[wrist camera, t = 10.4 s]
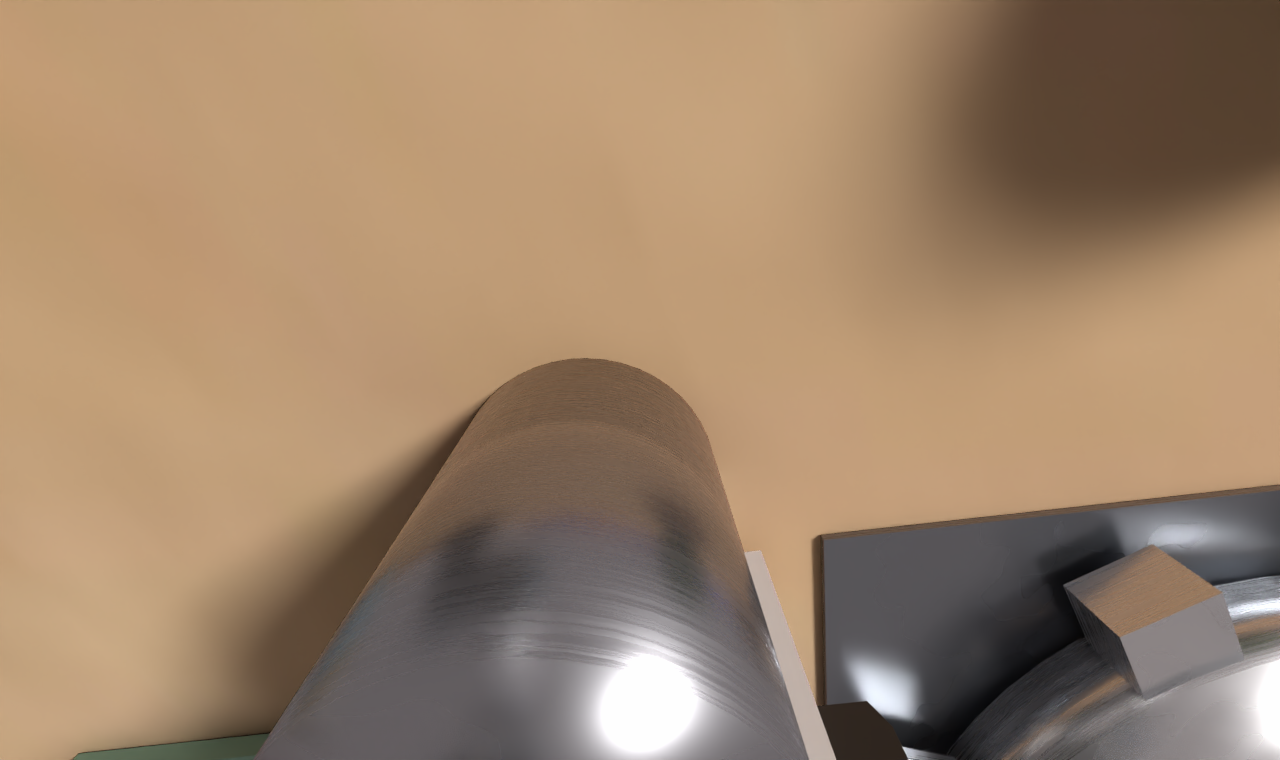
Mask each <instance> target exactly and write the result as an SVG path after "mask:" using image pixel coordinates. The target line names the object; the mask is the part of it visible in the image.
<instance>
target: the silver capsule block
mask: <svg viewBox="0 0 1280 760" xmlns="http://www.w3.org/2000/svg"><path fill="white" fill-rule="evenodd" d="M253 760H809V758H808V754H807V751H806V748H805V745H804V742H803V738H802V735H801V732H800V729H799V726H798V722H797V719H796V716H795V713H794V710H793V707H792V703H791V700H790V697H789V694H788V691H787V687H786V684H785V681H784V678H783V675H782V672H781V668H780V665H779V662H778V659H777V656H776V652H775V649H774V646H773V643H772V640H771V636H770V633H769V630H768V627H767V624H766V621H765V617H764V614H763V611H762V608H761V605H760V601H759V598H758V595H757V592H756V589H755V586H754V582H753V579H752V576H751V573H750V570H749V566H748V563H747V560H746V557H745V554H744V550H743V547H742V544H741V541H740V538H739V535H738V531H737V528H736V525H735V522H734V519H733V515H732V512H731V509H730V506H729V503H728V500H727V496H726V493H725V490H724V487H723V484H722V480H721V477H720V474H719V471H718V468H717V464H716V461H715V458H714V455H713V452H712V449H711V445H710V442H709V439H708V436H707V434H706V432H705V430H704V428H703V426H702V424H701V422H700V420H699V419H698V417H697V416H696V414H695V413H694V411H693V410H692V408H691V407H690V406H689V405H688V404H687V403H686V402H685V400H684V399H683V398H682V397H681V396H680V395H679V394H677V393H676V392H675V391H674V390H673V389H672V388H670V387H669V386H668V385H667V384H665V383H663V382H662V381H660V380H659V379H657V378H656V377H654V376H652V375H650V374H648V373H646V372H644V371H642V370H640V369H638V368H635V367H632V366H629V365H626V364H623V363H618V362H613V361H608V360H602V359H589V358H583V359H567V360H562V361H556V362H551V363H548V364H545V365H541V366H538V367H535V368H533V369H531V370H528V371H526V372H524V373H522V374H520V375H518V376H516V377H515V378H513V379H512V380H510V381H509V382H507V383H506V384H504V385H503V386H502V387H501V388H499V389H498V390H497V391H496V392H495V393H494V394H492V395H491V396H490V398H489V399H488V400H487V401H486V402H485V403H484V404H483V406H482V407H481V408H480V410H479V411H478V413H477V414H476V416H475V417H474V419H473V420H472V422H471V423H470V425H469V426H468V428H467V430H466V431H465V433H464V434H463V436H462V437H461V439H460V440H459V442H458V443H457V445H456V447H455V448H454V450H453V451H452V453H451V454H450V456H449V457H448V459H447V460H446V462H445V464H444V465H443V467H442V468H441V470H440V471H439V473H438V474H437V476H436V477H435V479H434V481H433V482H432V484H431V485H430V487H429V488H428V490H427V491H426V493H425V494H424V496H423V498H422V499H421V501H420V502H419V504H418V505H417V507H416V508H415V510H414V511H413V513H412V515H411V516H410V518H409V519H408V521H407V522H406V524H405V525H404V527H403V528H402V530H401V532H400V533H399V535H398V536H397V538H396V539H395V541H394V542H393V544H392V545H391V547H390V549H389V550H388V552H387V553H386V555H385V556H384V558H383V559H382V561H381V562H380V564H379V566H378V567H377V569H376V570H375V572H374V573H373V575H372V576H371V578H370V579H369V581H368V583H367V584H366V586H365V587H364V589H363V590H362V592H361V593H360V595H359V596H358V598H357V600H356V601H355V603H354V604H353V606H352V607H351V609H350V610H349V612H348V613H347V615H346V617H345V618H344V620H343V621H342V623H341V624H340V626H339V627H338V629H337V631H336V632H335V634H334V635H333V637H332V638H331V640H330V641H329V643H328V644H327V646H326V648H325V649H324V651H323V652H322V654H321V655H320V657H319V658H318V660H317V661H316V663H315V665H314V666H313V668H312V669H311V671H310V672H309V674H308V675H307V677H306V678H305V680H304V682H303V683H302V685H301V686H300V688H299V689H298V691H297V692H296V694H295V695H294V697H293V699H292V700H291V702H290V703H289V705H288V706H287V708H286V709H285V711H284V712H283V714H282V716H281V717H280V719H279V720H278V722H277V723H276V725H275V726H274V728H273V729H272V731H271V733H270V734H269V736H268V737H267V739H266V740H265V742H264V743H263V745H262V746H261V748H260V750H259V751H258V753H257V754H256V756H255V757H254V759H253Z"/></svg>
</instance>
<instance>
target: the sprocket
mask: <svg viewBox="0 0 1280 760" xmlns="http://www.w3.org/2000/svg"><path fill="white" fill-rule="evenodd" d="M1063 586H1064V588H1065V591H1066V593H1067V595H1068V598H1069V600H1070V602H1071V605H1072V607H1073V609H1074V612H1075V614H1076V616H1077V618H1078V621H1079V623H1080V625H1081V628H1082V630H1083V632H1084V635H1085V636H1083V637H1081V638H1079V639H1078V640H1076V641H1074V642H1073V643H1071V644H1070V645H1068V646H1066V647H1065V648H1063V649H1062V650H1060V651H1058V652H1057V653H1055V654H1054V655H1052V656H1050V657H1049V658H1047V659H1046V660H1044V661H1042V662H1041V663H1039V664H1038V665H1037V666H1035V667H1034V668H1033V669H1032V670H1030V671H1029V672H1028V673H1026V674H1025V675H1024V676H1022V677H1021V678H1020V679H1019V680H1017V681H1016V682H1015V683H1013V684H1012V685H1011V686H1009V687H1008V688H1007V689H1006V690H1004V691H1003V692H1002V693H1001V694H1000V695H999V696H998V697H997V698H996V699H995V700H994V701H993V702H992V703H991V704H990V705H989V706H988V707H987V708H986V709H984V710H983V711H982V712H981V713H980V714H979V715H978V716H977V717H976V718H975V719H974V720H973V722H972V723H971V724H970V725H969V726H968V728H967V729H966V730H965V731H964V732H963V733H962V735H961V736H960V737H959V738H958V739H957V741H956V742H955V743H954V744H953V745H952V747H951V748H950V749H949V751H948V753H947V754H946V755H944V754H939V753H934V752H928V751H923V750H917V749H912V748H906V747H903V749H904V751H905V753H906V755H907V757H908V760H1280V576H1267V577H1260V578H1254V579H1249V580H1243V581H1238V582H1232V583H1227V584H1221V585H1216V586H1212V585H1211V584H1209V583H1208V582H1207V581H1205V580H1204V579H1202V578H1201V577H1199V576H1198V575H1197V574H1195V573H1194V572H1192V571H1191V570H1189V569H1188V568H1186V567H1185V566H1184V565H1182V564H1181V563H1179V562H1178V561H1176V560H1175V559H1173V558H1172V557H1171V556H1169V555H1168V554H1166V553H1165V552H1163V551H1162V550H1160V549H1159V548H1158V547H1156V546H1155V545H1153V544H1152V545H1149V546H1147V547H1145V548H1143V549H1141V550H1138V551H1136V552H1134V553H1132V554H1130V555H1127V556H1125V557H1123V558H1121V559H1119V560H1116V561H1114V562H1112V563H1110V564H1108V565H1105V566H1103V567H1101V568H1099V569H1097V570H1094V571H1092V572H1090V573H1088V574H1086V575H1084V576H1081V577H1079V578H1077V579H1075V580H1073V581H1070V582H1068V583H1066V584H1064V585H1063Z"/></svg>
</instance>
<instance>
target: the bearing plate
mask: <svg viewBox="0 0 1280 760" xmlns="http://www.w3.org/2000/svg"><path fill="white" fill-rule="evenodd" d="M1152 544H1153V545H1155V546H1156V547H1158V548H1159V549H1160V550H1162V551H1163V552H1165V553H1166V554H1168V555H1169V556H1171V557H1172V558H1173V559H1175V560H1176V561H1178V562H1179V563H1181V564H1182V565H1184V566H1185V567H1186V568H1188V569H1189V570H1191V571H1192V572H1194V573H1195V574H1197V575H1198V576H1199V577H1201V578H1202V579H1204V580H1205V581H1207V582H1208V583H1209V584H1211V585H1212V586H1216V585H1221V584H1227V583H1232V582H1238V581H1243V580H1249V579H1254V578H1260V577H1267V576H1280V485H1274V486H1265V487H1255V488H1246V489H1237V490H1228V491H1219V492H1210V493H1201V494H1191V495H1182V496H1173V497H1164V498H1155V499H1146V500H1137V501H1128V502H1118V503H1109V504H1100V505H1091V506H1082V507H1073V508H1064V509H1055V510H1045V511H1036V512H1027V513H1018V514H1009V515H1000V516H991V517H982V518H972V519H963V520H954V521H945V522H936V523H927V524H918V525H908V526H899V527H890V528H881V529H872V530H863V531H854V532H845V533H835V534H826V535H821V556H822V604H823V652H824V700H825V705H832V704H842V703H851V702H861V701H868V702H869V703H870V704H871V705H872V706H873V707H874V708H875V709H876V710H877V711H878V712H879V714H880V715H881V716H882V717H883V718H884V719H885V720H886V721H887V722H888V723H889V724H890V725H891V726H892V727H893V729H894V731H895V733H896V735H897V737H898V739H899V741H900V743H901V745H902V747H906V748H912V749H917V750H923V751H928V752H934V753H939V754H944V755H946V754H947V753H948V751H949V749H950V748H951V747H952V745H953V744H954V743H955V742H956V741H957V739H958V738H959V737H960V736H961V735H962V733H963V732H964V731H965V730H966V729H967V728H968V726H969V725H970V724H971V723H972V722H973V720H974V719H975V718H976V717H977V716H978V715H979V714H980V713H981V712H982V711H983V710H984V709H986V708H987V707H988V706H989V705H990V704H991V703H992V702H993V701H994V700H995V699H996V698H997V697H998V696H999V695H1000V694H1001V693H1002V692H1003V691H1004V690H1006V689H1007V688H1008V687H1009V686H1011V685H1012V684H1013V683H1015V682H1016V681H1017V680H1019V679H1020V678H1021V677H1022V676H1024V675H1025V674H1026V673H1028V672H1029V671H1030V670H1032V669H1033V668H1034V667H1035V666H1037V665H1038V664H1039V663H1041V662H1042V661H1044V660H1046V659H1047V658H1049V657H1050V656H1052V655H1054V654H1055V653H1057V652H1058V651H1060V650H1062V649H1063V648H1065V647H1066V646H1068V645H1070V644H1071V643H1073V642H1074V641H1076V640H1078V639H1079V638H1081V637H1083V636H1085V635H1084V632H1083V630H1082V628H1081V625H1080V623H1079V621H1078V618H1077V616H1076V614H1075V612H1074V609H1073V607H1072V605H1071V602H1070V600H1069V598H1068V595H1067V593H1066V591H1065V588H1064V586H1063V585H1064V584H1066V583H1068V582H1070V581H1073V580H1075V579H1077V578H1079V577H1081V576H1084V575H1086V574H1088V573H1090V572H1092V571H1094V570H1097V569H1099V568H1101V567H1103V566H1105V565H1108V564H1110V563H1112V562H1114V561H1116V560H1119V559H1121V558H1123V557H1125V556H1127V555H1130V554H1132V553H1134V552H1136V551H1138V550H1141V549H1143V548H1145V547H1147V546H1149V545H1152Z"/></svg>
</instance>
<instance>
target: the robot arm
mask: <svg viewBox="0 0 1280 760" xmlns="http://www.w3.org/2000/svg"><path fill="white" fill-rule="evenodd" d="M744 554H745V557H746V560H747V563H748V566H749V570H750V573H751V576H752V579H753V582H754V586H755V589H756V592H757V595H758V598H759V601H760V605H761V608H762V611H763V614H764V617H765V621H766V624H767V627H768V630H769V633H770V636H771V640H772V643H773V646H774V649H775V652H776V656H777V659H778V662H779V665H780V668H781V672H782V675H783V678H784V681H785V684H786V687H787V691H788V694H789V697H790V700H791V703H792V707H793V710H794V713H795V716H796V719H797V722H798V726H799V729H800V732H801V735H802V738H803V742H804V745H805V748H806V751H807V754H808V758H809V760H908V757H907V755H906V753H905V751H904V749H903V747H902V745H901V743H900V741H899V739H898V737H897V735H896V733H895V731H894V729H893V727H892V726H891V725H890V724H889V723H888V722H887V721H886V720H885V719H884V718H883V717H882V716H881V715H880V714H879V712H878V711H877V710H876V709H875V708H874V707H873V706H872V705H871V704H870V703H869V702H868V701H861V702H851V703H842V704H832V705H823V706H817V705H816V702H815V699H814V696H813V694H812V691H811V688H810V685H809V682H808V680H807V677H806V674H805V671H804V669H803V666H802V663H801V660H800V657H799V655H798V652H797V649H796V646H795V644H794V641H793V638H792V635H791V632H790V630H789V627H788V624H787V621H786V619H785V616H784V613H783V610H782V607H781V605H780V602H779V599H778V596H777V594H776V591H775V588H774V585H773V582H772V580H771V577H770V574H769V571H768V569H767V566H766V563H765V560H764V557H763V555H762V552H761V550H760V551H751V552H744Z"/></svg>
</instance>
